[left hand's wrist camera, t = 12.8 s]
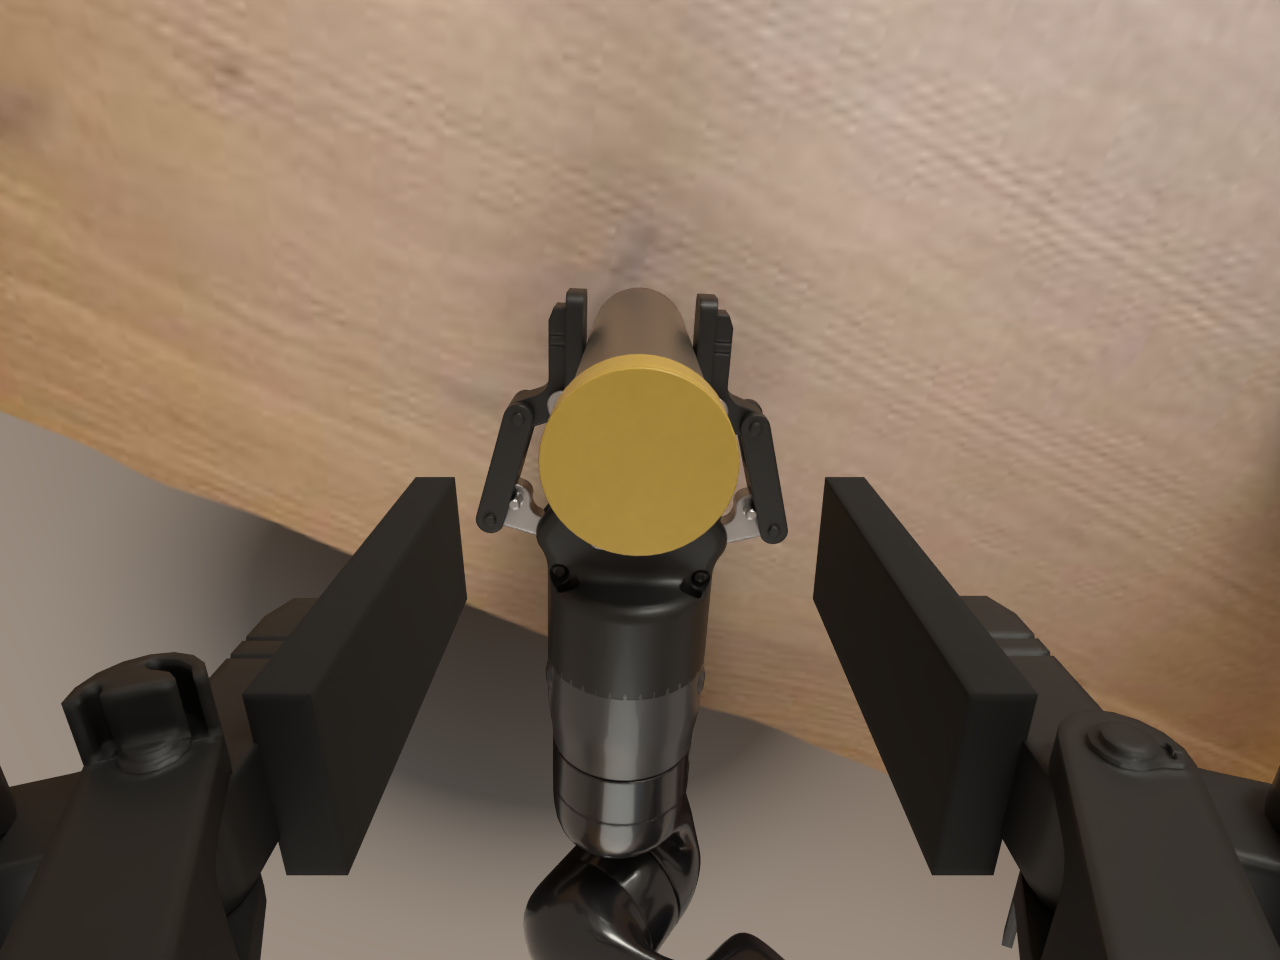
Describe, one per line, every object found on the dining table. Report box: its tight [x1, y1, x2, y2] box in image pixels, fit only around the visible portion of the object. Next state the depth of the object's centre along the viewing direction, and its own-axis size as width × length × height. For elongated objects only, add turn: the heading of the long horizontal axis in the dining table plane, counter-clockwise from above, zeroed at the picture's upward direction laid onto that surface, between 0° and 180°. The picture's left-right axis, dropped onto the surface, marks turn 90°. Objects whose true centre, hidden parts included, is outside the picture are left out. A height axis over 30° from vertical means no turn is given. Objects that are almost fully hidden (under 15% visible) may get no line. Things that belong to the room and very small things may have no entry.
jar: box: [575, 288, 704, 379], centre depth 27 cm, size 4×4×18 cm
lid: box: [538, 354, 739, 556], centre depth 19 cm, size 5×5×2 cm
